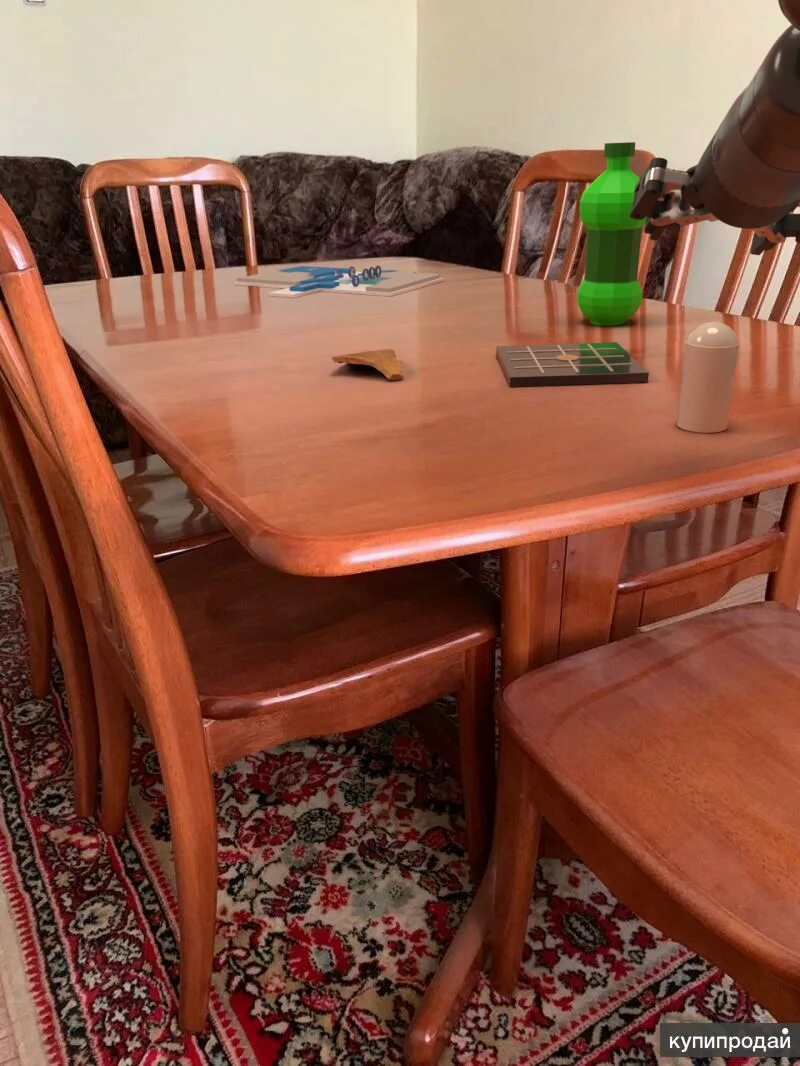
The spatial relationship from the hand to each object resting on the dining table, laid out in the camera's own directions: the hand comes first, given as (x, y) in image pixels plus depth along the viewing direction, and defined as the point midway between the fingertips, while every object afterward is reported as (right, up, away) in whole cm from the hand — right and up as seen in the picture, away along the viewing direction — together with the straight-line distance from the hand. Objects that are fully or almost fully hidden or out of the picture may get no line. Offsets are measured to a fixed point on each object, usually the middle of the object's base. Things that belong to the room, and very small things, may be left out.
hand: (705, 236), depth 71 cm
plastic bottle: (+6, +7, +57) cm, 57 cm away
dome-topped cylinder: (+4, -15, +10) cm, 18 cm away
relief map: (-41, +26, +100) cm, 111 cm away
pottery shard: (-29, -5, +35) cm, 46 cm away
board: (-5, -5, +32) cm, 33 cm away
